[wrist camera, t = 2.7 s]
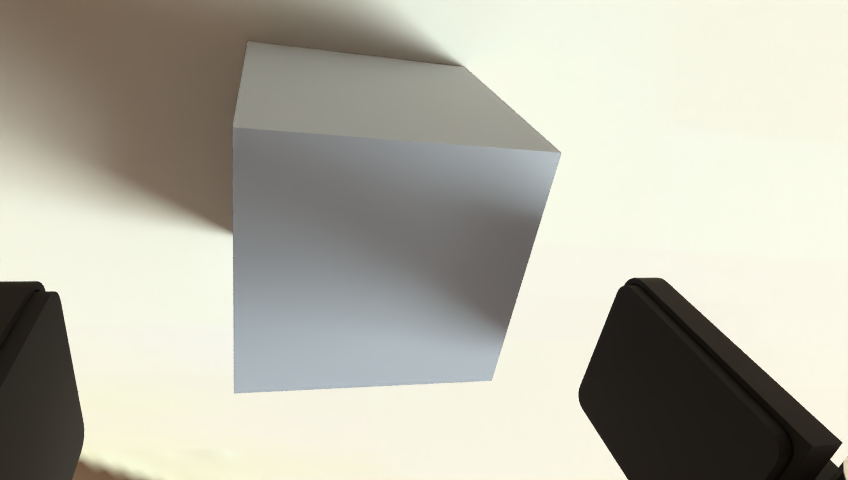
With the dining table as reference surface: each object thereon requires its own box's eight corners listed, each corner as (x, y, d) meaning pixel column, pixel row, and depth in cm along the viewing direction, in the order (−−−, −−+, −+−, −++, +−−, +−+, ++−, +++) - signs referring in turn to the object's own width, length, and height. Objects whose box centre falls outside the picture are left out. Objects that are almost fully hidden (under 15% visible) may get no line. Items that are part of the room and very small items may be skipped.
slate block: (247, 40, 13) (231, 127, 8) (464, 66, 15) (560, 152, 10) (246, 237, 16) (233, 393, 11) (429, 242, 17) (491, 380, 12)
